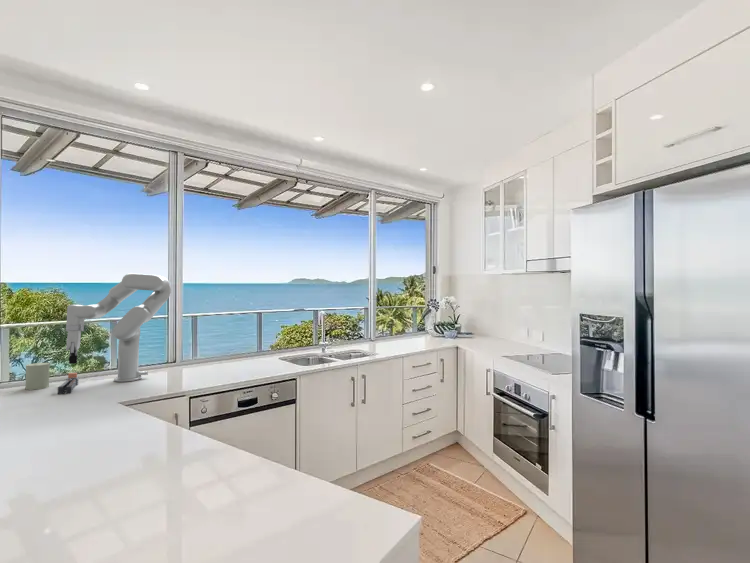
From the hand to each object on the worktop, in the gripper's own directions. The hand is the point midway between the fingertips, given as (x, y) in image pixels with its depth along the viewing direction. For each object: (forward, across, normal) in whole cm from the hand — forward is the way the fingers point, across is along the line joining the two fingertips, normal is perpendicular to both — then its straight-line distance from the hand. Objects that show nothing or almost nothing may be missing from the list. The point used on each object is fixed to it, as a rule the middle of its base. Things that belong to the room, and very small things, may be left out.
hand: (72, 363), depth 212 cm
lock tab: (+6, +7, +1) cm, 9 cm away
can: (+10, +7, -13) cm, 18 cm away
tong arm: (+9, +20, 0) cm, 22 cm away
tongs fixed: (+10, +17, +1) cm, 20 cm away
